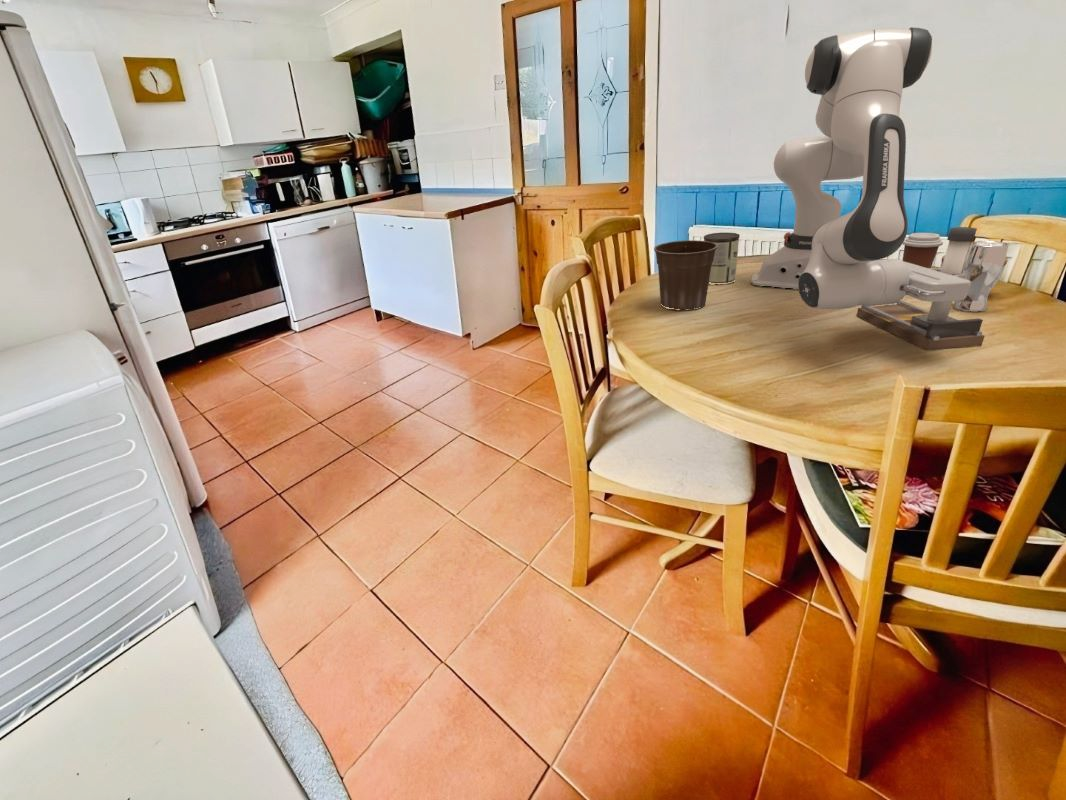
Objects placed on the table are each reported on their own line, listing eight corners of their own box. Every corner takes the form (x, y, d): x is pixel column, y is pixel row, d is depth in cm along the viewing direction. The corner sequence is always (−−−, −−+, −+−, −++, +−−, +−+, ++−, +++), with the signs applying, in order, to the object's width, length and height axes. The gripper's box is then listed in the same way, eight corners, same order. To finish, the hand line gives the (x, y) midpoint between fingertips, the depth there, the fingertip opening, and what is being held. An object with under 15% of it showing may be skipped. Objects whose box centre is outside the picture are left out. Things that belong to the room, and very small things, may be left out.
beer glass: (994, 312, 116) (1017, 245, 109) (959, 313, 117) (980, 247, 110) (977, 303, 122) (998, 240, 115) (944, 304, 123) (963, 241, 116)
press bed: (856, 315, 121) (860, 295, 119) (901, 311, 121) (906, 291, 119) (927, 350, 101) (934, 326, 98) (981, 345, 101) (989, 321, 98)
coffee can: (701, 277, 165) (704, 232, 159) (735, 277, 162) (739, 231, 155) (700, 285, 157) (703, 238, 150) (735, 285, 153) (740, 237, 147)
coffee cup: (891, 280, 144) (901, 237, 139) (896, 273, 150) (907, 231, 145) (930, 283, 139) (943, 238, 133) (934, 275, 145) (946, 232, 139)
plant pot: (689, 317, 131) (693, 254, 123) (640, 307, 142) (641, 249, 135) (724, 302, 139) (730, 242, 132) (676, 293, 151) (678, 238, 143)
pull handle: (910, 323, 108) (935, 228, 99) (938, 321, 108) (966, 225, 99) (931, 333, 102) (960, 232, 93) (960, 330, 102) (992, 229, 93)
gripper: (928, 278, 90) (1005, 271, 89) (857, 256, 108) (921, 250, 108) (918, 312, 92) (993, 305, 92) (851, 285, 111) (913, 279, 111)
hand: (953, 275), depth 100 cm, fingers closed on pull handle, 3 cm apart
